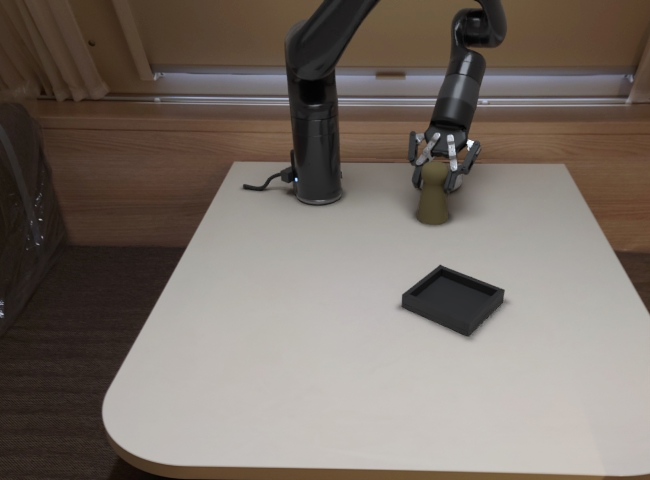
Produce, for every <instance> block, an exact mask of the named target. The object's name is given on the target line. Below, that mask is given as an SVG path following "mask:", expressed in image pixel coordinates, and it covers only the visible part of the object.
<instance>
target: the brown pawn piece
mask: <svg viewBox="0 0 650 480" xmlns="http://www.w3.org/2000/svg"><path fill="white" fill-rule="evenodd" d="M448 166H449V165H447V164H446V163H445V162H443V161H439V160H432V161H430V162H427V163H425V164H424V165H423V167H422V169H421V177H422V179H423V186H422V189H421V192H420V196H419V203H418V208H417V213H416V219H417V221H419V222H420V223H421V224H425V225H430V226H437V225H443V224H445V223H446V222H448V219H449V214H448V213H449V212H448V199H447V194H445V193H444V185H445V182H446V178H447V175H448V171H449V168H448Z"/></svg>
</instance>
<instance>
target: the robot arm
mask: <svg viewBox="0 0 650 480" xmlns="http://www.w3.org/2000/svg"><path fill="white" fill-rule="evenodd" d="M381 1H382V0H322V2H321V3H320V4H319V6H318V7H317V8H316V9H315V11H314V12H313V13H312V14H311V16H310V17H309V18H304V19H301V20H298V21H296V22H295V23H293V24H292V25H291V26H290V27H289V29H288V30H287V32H286V35H285V37H284V41H283V42H284V43H283V48H284V49H283V50H284V61H285V63H284V64H285V72H286V73H285V74H286V81H287V82H286V84H287V95H288V104H289V115H290V126H291V138H292V147H293V148H292V149H290V151H289V156H290V164H291V165H290V166H288V167H286V168H283V169H282V170H280V171H279V172H276V173H274V174H272V175H270V176H269V177H268V178H267V179H266V180H265V182H264V183H263V185H261V186H259V185H258V186H255V185H251V184H247V183H243V184H242V188H243V189H249V190H252V191H262V190H266V188H267V187H268V186H269V185H270V183H271V182H272V181H273V180H275V179H276V178H279V177H280V181H281V182H284V183H286V184H290V183H292V189H293V195H295V196H296V198H297V200H299V201H300V202H302V203H304V204H309V205H326V204H331V203H334V202H336V201H338V200H339V199H341V197H342V196H343V189H342V179H343V171H342V165H341V164H342V163H341V140H340V139H341V138H340V136H341V135H340V114H339V111H340V110H339V97H338V96H339V95H338V89H337V80H336V79H337V78H336V67H337V65H338V63H339V62H340V60H341V58H342V57H343V55H344V53H345V52H346V50H347V48H348V47H349V45H350V43H351V42H352V40H353V38H354V36H355V35H356V33H357V32H358V31H359V28H360V27H361V25H362V24H363V23H364V22H365V20H366V18H368V16H369V15H370V14H371V13H372V11H373V10H374V9H375V8H376V7H377V6H378V5H379V3H380V2H381ZM473 2H477V3H478V4H479V5H480V7H463V8H460V9H459V10H458V11H457V12H455V14H454V15H453V17H452V19H451V22H450V51H449V52H450V54H449V62H448V64H447V69H446V72H445V75H444V78H443V81H442V84H441V86H440V88H439V90H438V94H437V98H436V101H435V104H434V108H433V110H432V114H431V116H430V117H431V118H430V121H429V125H428V127H427V129H426V130H425V131H424V132H420V133H419V132H418V133H417V132H416V131H415V130H411V131H410V132H409V137H408V151H407V159H408V161H409V164H410V165H411V166H412V167H414V170H413V173H412V177H411V182H412V185H413V187H414V188H415V189H418V190H420V189H421V188H420V185H421V182H422V177H421V169H422V167H423V165H424V164H425V163H427V162H430V161H434V159H435V158H444V159H447V160H449V166H450V167H451V170H450V171H448V175H447V178H446V182H445V185H444V193H445V194H446V195H449V194H450V191H451V193H452V192H454V191H455V190H454V186H455V183H456V179H457V177H458V175H460V174H461V175H465V176H468V175H469V174H470V173H471V170H472V168H473V166H474V165H475V163H476V161H477V159H478V157H479V156H480V153H481V151H482V145H481V141H479V140H477V139H476V140H471V139H469V133H470V130H471V126H472V123H473V119H474V116H475V112H476V110H477V108H478V103H479V102H478V101H479V96H480V92H481V91H480V90H481V87H482V86H481V85H482V82H483V80H484V76H485V72H486V69H487V60H486V58H485V57H484V55H483V54H481V53H480V52H478V51H476V50H473V49H496V48H498V47H500V46H501V45H502V43H503V42H504V41H505V39H506V37H507V31H508V20H507V16H506V12H505V8H504V5H503V1H502V0H473ZM423 141H425V142H426V145H425V147H424V148H423V149H422V151H421V154H420V155H419V157H418V154H419V152H418V151H419V146H421V145H422V143H423ZM466 147H467V148H466ZM465 148H466V149H467V153H466V156H465V158H464V159H463V162H462V163H461V164H459V157H458V156H459V155H458V154H459V153H461V152H462V151H463V150H464V149H465ZM453 190H454V191H453Z"/></svg>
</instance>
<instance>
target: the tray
mask: <svg viewBox="0 0 650 480" xmlns="http://www.w3.org/2000/svg"><path fill="white" fill-rule="evenodd" d="M505 293H506V289H504V288H502V287H498V286H496V285H495V284H494V285H493V284H491V283H489V282H487V281H483V280H481V279H478V278H475V277H473V276H470V275H467V274H465V273H462V272H460V271H457V270H454V269H452V268H449V267H448V266H445V265H442V264H439V265H438V266H436V267H435V268H434V269H433V270H431V271H430V272H429V273H428V274H426V275H425V276H424V277H423V278H421V279H420V280H419V281H417V282H416V283H415V284H414V285H412V286H411V287H410V288H408V289H407V290H406V291H405V292H403V293H402V294H401V308H403V309H405V310H408V311H410V312H412V313H414V314H417V315H419V316H421V317H423V318H426V319H428V320H430V321H433V322H435V323H437V324H439V325H442V326H444V327H446V328H448V329H450V330H452V331H455V332H457V333H459V334H461V335H464V336H466V337H469V336H470V335H472V334H473V332H475V330H476V329H477V328H478V327H480V326H481V324H483V323H484V321H485V320H486V319H487V318H489V316H491V315H492V314H493V312H495V311H496V309H498V307H499V306H501V305H502V304H503V302H504V299H505Z"/></svg>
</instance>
